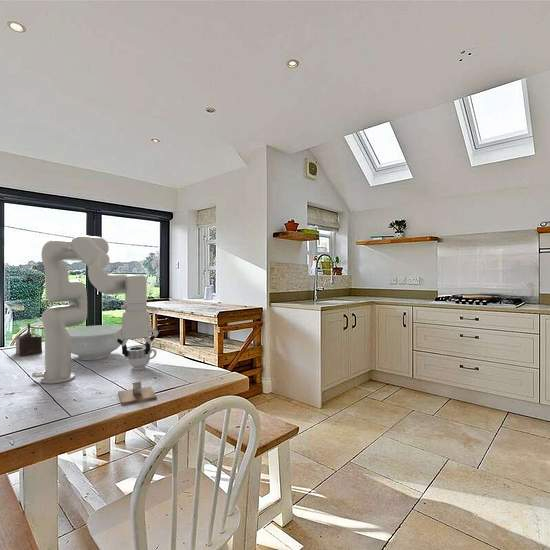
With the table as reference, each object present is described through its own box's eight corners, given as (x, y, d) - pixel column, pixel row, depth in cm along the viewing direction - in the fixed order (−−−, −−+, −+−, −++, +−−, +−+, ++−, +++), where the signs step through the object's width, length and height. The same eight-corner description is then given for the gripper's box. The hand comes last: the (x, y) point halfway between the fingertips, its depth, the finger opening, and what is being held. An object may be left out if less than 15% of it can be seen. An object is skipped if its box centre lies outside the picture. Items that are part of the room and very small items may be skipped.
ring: (127, 360, 126) (127, 351, 125) (125, 355, 132) (125, 347, 132) (147, 357, 129) (147, 349, 129) (144, 353, 135) (144, 345, 135)
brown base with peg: (121, 405, 123) (121, 389, 123) (118, 394, 133) (118, 379, 133) (156, 399, 129) (156, 384, 128) (150, 388, 139) (150, 375, 139)
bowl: (69, 351, 197) (69, 325, 197) (130, 347, 206) (130, 323, 206) (50, 367, 166) (49, 337, 166) (123, 362, 175) (123, 334, 175)
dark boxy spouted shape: (19, 357, 183) (19, 323, 183) (15, 353, 191) (15, 320, 190) (53, 352, 195) (53, 320, 194) (48, 348, 202) (47, 317, 202)
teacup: (149, 373, 158) (149, 351, 158) (120, 371, 161) (120, 349, 161) (162, 366, 170) (162, 346, 170) (135, 364, 173) (135, 344, 173)
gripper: (111, 310, 122) (111, 360, 123) (161, 307, 131) (162, 354, 131) (109, 307, 129) (110, 355, 129) (158, 305, 137) (158, 350, 138)
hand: (136, 354), depth 130 cm, fingers closed on ring, 7 cm apart
